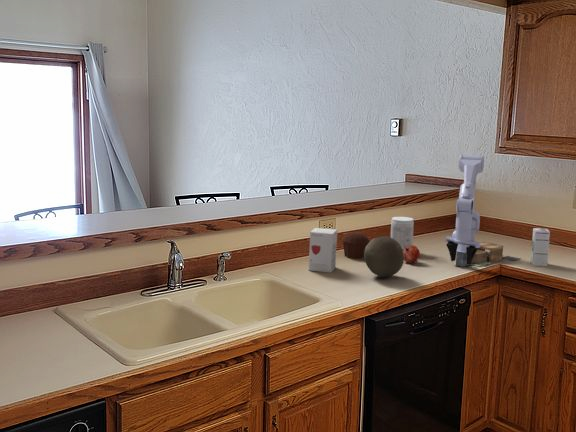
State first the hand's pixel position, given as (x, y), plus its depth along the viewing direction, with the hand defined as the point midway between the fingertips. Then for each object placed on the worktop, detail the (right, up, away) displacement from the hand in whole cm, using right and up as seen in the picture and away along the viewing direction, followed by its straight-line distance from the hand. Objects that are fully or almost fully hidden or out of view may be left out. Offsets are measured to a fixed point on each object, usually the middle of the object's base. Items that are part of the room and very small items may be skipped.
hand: (460, 262), depth 245 cm
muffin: (-41, +1, +13) cm, 42 cm away
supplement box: (-55, -2, -9) cm, 56 cm away
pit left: (+19, +2, +22) cm, 29 cm away
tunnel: (+15, 0, +14) cm, 20 cm away
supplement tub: (-20, +3, +23) cm, 30 cm away
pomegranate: (-19, -1, +4) cm, 19 cm away
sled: (+5, 0, +5) cm, 7 cm away
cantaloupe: (-34, -4, -19) cm, 39 cm away
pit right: (+25, 0, +16) cm, 30 cm away
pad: (+7, -1, +7) cm, 10 cm away
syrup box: (+34, -2, +7) cm, 34 cm away
